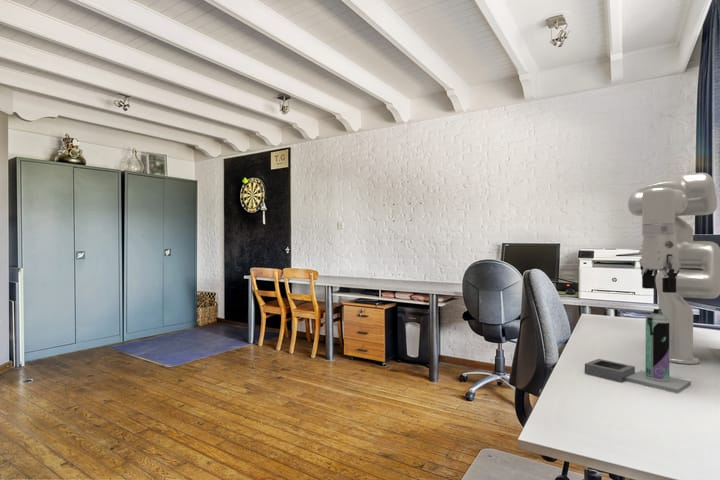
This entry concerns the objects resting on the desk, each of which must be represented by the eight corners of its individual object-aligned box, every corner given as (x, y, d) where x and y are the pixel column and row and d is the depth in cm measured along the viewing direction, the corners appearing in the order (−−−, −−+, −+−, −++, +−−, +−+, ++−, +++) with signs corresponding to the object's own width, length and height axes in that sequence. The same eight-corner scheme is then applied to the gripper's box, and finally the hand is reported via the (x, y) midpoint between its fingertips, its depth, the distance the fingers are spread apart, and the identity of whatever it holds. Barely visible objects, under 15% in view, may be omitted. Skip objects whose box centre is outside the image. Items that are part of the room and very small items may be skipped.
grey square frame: (598, 368, 126) (598, 358, 126) (634, 376, 118) (635, 366, 118) (584, 373, 120) (584, 363, 120) (621, 382, 112) (621, 372, 112)
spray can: (664, 383, 109) (665, 310, 110) (642, 377, 114) (642, 308, 114) (672, 379, 112) (672, 309, 113) (650, 374, 117) (650, 306, 117)
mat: (641, 373, 121) (641, 370, 121) (690, 384, 112) (690, 381, 112) (625, 380, 114) (625, 377, 114) (677, 393, 105) (677, 389, 105)
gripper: (693, 230, 105) (693, 294, 105) (654, 231, 122) (654, 287, 122) (662, 230, 106) (662, 293, 106) (628, 231, 123) (628, 286, 123)
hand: (658, 290), depth 114 cm, fingers open, 9 cm apart
